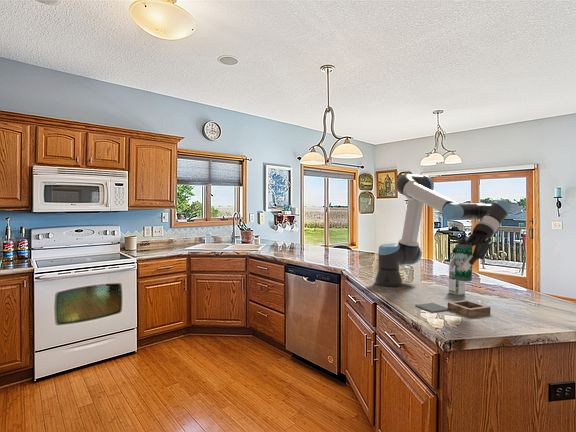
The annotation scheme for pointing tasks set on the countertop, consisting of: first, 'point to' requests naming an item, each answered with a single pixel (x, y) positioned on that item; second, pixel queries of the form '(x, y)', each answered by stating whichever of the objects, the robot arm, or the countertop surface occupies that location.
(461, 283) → the syrup box
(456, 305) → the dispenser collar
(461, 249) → the can
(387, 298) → the countertop surface
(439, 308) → the mat
